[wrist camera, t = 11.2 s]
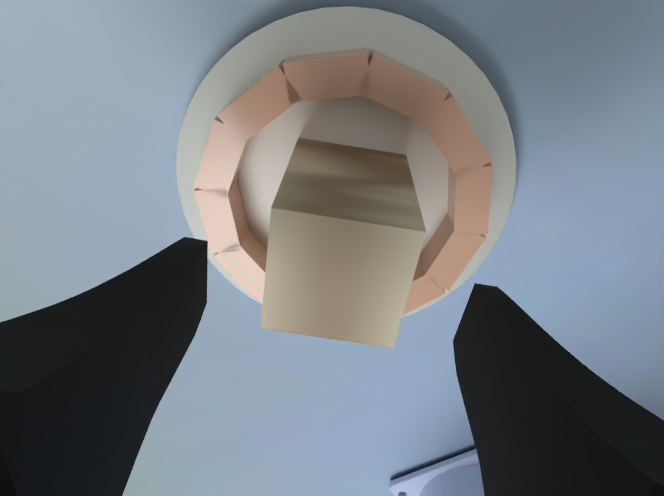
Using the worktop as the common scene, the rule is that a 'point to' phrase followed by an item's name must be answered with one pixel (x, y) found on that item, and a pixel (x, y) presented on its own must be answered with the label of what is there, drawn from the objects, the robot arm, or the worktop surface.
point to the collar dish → (347, 137)
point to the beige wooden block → (342, 244)
